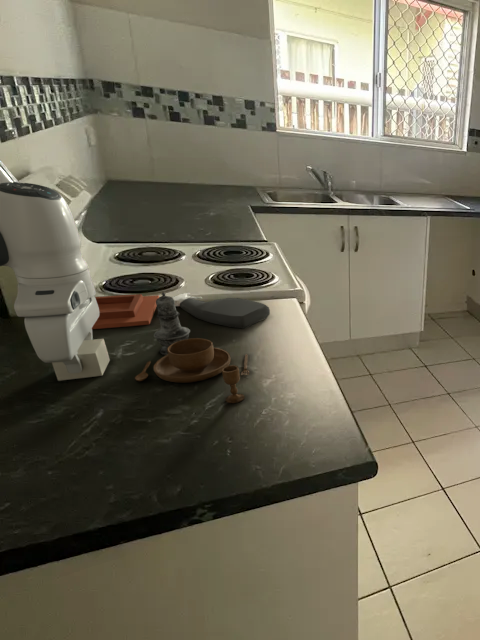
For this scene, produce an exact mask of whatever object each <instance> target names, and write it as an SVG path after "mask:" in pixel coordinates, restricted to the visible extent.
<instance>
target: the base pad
mask: <svg viewBox="0 0 480 640" xmlns="http://www.w3.org/2000/svg"><path fill="white" fill-rule="evenodd" d="M159 297H160V295H143V294H142V293H137V294H136V293H135V294H119V295H104V296H103V295H101V296H95V298H96V301H97V304H98V307H99V318H98V319H97V321H96V322H95V324H94V325H93V327H92V330H100V329H111V328H112V329H113V328H123V327H126V328H127V327H135V326H149V325H150V324H151V322H152V319H153V317H154V314H155V311H156V309H157V305H156V300H157V298H159Z"/></svg>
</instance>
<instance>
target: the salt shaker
mask: <svg viewBox="0 0 480 640" xmlns="http://www.w3.org/2000/svg"><path fill="white" fill-rule="evenodd" d="M160 294H161V296H159V298H157V300H156V305H157V307H156V309H157V314H156V318H158V319H159V323H160V329H159V330H157V331H155V332H154V333H153V337H154V339H156V341H157V342H158V343H159V345H161V347H160V348H159V354H161V355H164V356H166V355H168V352H167V348H168V347H169V346H170V345H171V344H173V343H175V342H178V341H181V340H185V339H189V336H190V333H191V329H189V328H188V327H186V326H182V325H181V322H180V319H179V316H180V312H179V311H178V310H177V308H176V307H177V306H175V302H174V299H173V298H172V297H173V296H169V295H166V293H165V292H164V291H162V293H160Z"/></svg>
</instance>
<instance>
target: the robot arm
mask: <svg viewBox="0 0 480 640" xmlns="http://www.w3.org/2000/svg"><path fill="white" fill-rule="evenodd" d="M0 267H7V268H11V269H12V270H13V273H14V276H15V278H16V280H17V295H16V298H15V301H14V304H13V309H14V312H15V314H16V317H19V318H24V327H25V331H26V333H27V336H28V339H29V341H30V343H31V345H32V347H33V349H34V351H35V354H36V356H37V357H38V358H39V360H40V361H41V362H43V363H45V364H52V363H55V362H63V363H64V364H65V365H66V368H67V371H68V372H69V373H71V374H72V373H80V372H81V371H82V369H83V367H84V366H83V363H82V360H79V358H78V356H77V354H78V352H77V351H78V349H79V347H80V346H81V344H82V343H83V341H84V340H93V329H92V327H93V325H94V324H95V322H96V321H97V319H98V318H99V307H98V304H97V301H96V298H95V297H96V293H97V291H96V287H95V284H94V281H93V278H92V274H91V270H90V268H89V264H88V262H87V261H86V259H85V258H84V256H83V253H82V238H81V235H80V232H79V229H78V226H77V223H76V220H75V217H74V214H73V213H72V210H71V208H70V206H69V204H68V202H67V200H66V199H65V198H64V196H63V195H62V194H61V193H60V192H58V191H57V190H55V189H53V188H50V187H49V186H44V185H41V184H36V183H30V182H20V181H19V180H18V179H17V178H16V177H15V175H13V173H12V172H11V171H10V170H9V168H8V167H7V166H6V165H5V163H4V162H3V161H2V160H1V159H0Z"/></svg>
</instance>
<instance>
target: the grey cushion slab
mask: <svg viewBox="0 0 480 640" xmlns="http://www.w3.org/2000/svg"><path fill="white" fill-rule="evenodd" d="M171 297H172V298H173V299H174V302H175V307H180V309H182V310H184V311H185V312H187V313H188V314H190V315H191V316H193V317H194V318H196V319H198V320H201V321H204V322H206V323H209V324H210V323H211V324H215V325H218V326H224V327H228V328H234V329H246V328H248V327H251V326H252V325H255V324H257V323H259V322H261V321H264V320H265V319H267V318H268V317H269V316H270V312H271V310H270V307H269V306H268V305H266V304H264V303H262V302H258V301H254V300H250V299H247V298H246V299H244V298H239V297H225V298H220V299H214V300H209V301H204V300H202V299H203V296H193V295H192V293H191V292H189V291H188V292H187V291H186V292H184V293H180V294H177V295H174V296H171Z"/></svg>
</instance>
